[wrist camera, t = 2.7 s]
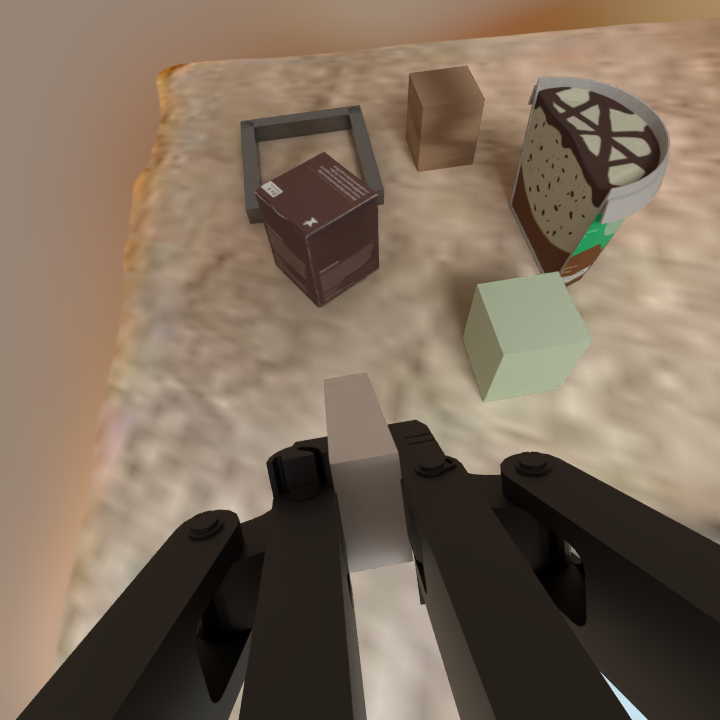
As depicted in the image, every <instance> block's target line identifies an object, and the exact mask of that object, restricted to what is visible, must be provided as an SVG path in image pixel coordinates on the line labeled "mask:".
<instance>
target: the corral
mask: <svg viewBox="0 0 720 720" xmlns="http://www.w3.org/2000/svg"><path fill="white" fill-rule="evenodd" d="M346 129H350V131H351V135H352V139H353V142H354V146H355V150H356V154H357V158H358V162H359V166H360V170H361V173H362V177H363V181H364V183H365V184H366V185H367V186H368V187H370V188H371V189H372V190H374V191H375V192H376V193H377V194H378V200H377V205H381V204H384V189H383V185H382V182H381V178H380V175H379V171H378V168H377V164H376V161H375V157H374V154H373V150H372V147H371V143H370V140H369V136H368V133H367V129H366V126H365V122H364V119H363V115H362V112H361V108H360V105H357V106H350V107H342V108H335V109H328V110H320V111H313V112H306V113H298V114H291V115H283V116H276V117H269V118H261V119H254V120H247V121H241V136H242V153H243V169H244V185H245V201H246V211H247V214H248V218H249V221H250V224H252V223H259V222H263V218H262V215H261V212H260V209H259V205H258V201H257V198H256V196H255V193H254V191H255V190H256V189H258V188H259V187H261V175H260V164H259V153H258V142H259V141H266V140H274V139H281V138H288V137H295V136H303V135H310V134H317V133H324V132H331V131H339V130H346Z"/></svg>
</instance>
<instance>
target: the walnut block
mask: <svg viewBox="0 0 720 720" xmlns="http://www.w3.org/2000/svg"><path fill="white" fill-rule="evenodd" d="M484 101H485V99H484V97H483V95H482V93H481V91H480V89H479V87H478V85H477V83H476V81H475V80H474V78H473V76H472V74H471V72H470V70H469V68H468V66H461V67H453V68H446V69H439V70H431V71H424V72H416V73H409V89H408V110H407V131H406V139H407V142H408V145H409V148H410V150H411V153H412V156H413V159H414V162H415V165H416V168H417V170H418V172H421V171H428V170H435V169H442V168H449V167H456V166H463V165H470V164H473V158H474V153H475V148H476V143H477V137H478V132H479V127H480V122H481V116H482V111H483V106H484Z"/></svg>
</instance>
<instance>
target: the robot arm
mask: <svg viewBox="0 0 720 720" xmlns="http://www.w3.org/2000/svg"><path fill="white" fill-rule="evenodd" d="M324 391H325V406H326V420H327V435H328V436H327V437H322V438H316V439H310V440H304V441H299V442H295V443H294V445H293V446H292V447H288V448H285V449H283V450H281V451H278V452H277V453H275V454H274V455H272V456H271V457H270V458H269V459H268V461H267V463H266V464H267V469H268V474H269V478H270V483H271V488H272V492H273V497H274V498H273V505H272V509H271V510H270V511H268V512H266V513H265V514H263V515H261V516H259V517H257V518H254V519H252V520H249V521H246V522H244V523H241V524H240V521H239V518H238V516H237V514H236V513H234V512H232V511H230V510H215V511H206V512H203V513H200V514H197V515H195V516H194V517H193V518H191V519H189V520H187V521H186V522H184V523H183V524H182V525H181V526H179V527H178V528H177V529H176V530H175V531H174V532H173V534H172V535H171V536H170V537H169V538H168V540H167V541H166V542H165V543H164V544H163V545H162V547H161V548H160V549H159V550H158V551H157V553H156V554H155V555H154V556H153V557H152V559H151V560H150V561H149V562H148V563H147V564H146V566H145V567H144V568H143V569H142V570H141V572H140V573H139V574H138V575H137V576H136V578H135V579H134V580H133V581H132V582H131V583H130V585H129V586H128V587H127V588H126V589H125V591H124V592H123V593H122V594H121V595H120V597H119V598H118V599H117V600H116V601H115V602H114V604H113V605H112V606H111V607H110V608H109V610H108V611H107V612H106V613H105V614H104V616H103V617H102V618H101V619H100V620H99V621H98V623H97V624H96V625H95V626H94V627H93V629H92V630H91V631H90V632H89V633H88V635H87V636H86V637H85V638H84V639H83V640H82V642H81V643H80V644H79V645H78V646H77V648H76V649H75V650H74V651H73V652H72V654H71V655H70V656H69V657H68V658H67V659H66V661H65V662H64V663H63V664H62V665H61V667H60V668H59V669H58V670H57V671H56V673H55V674H54V675H53V676H52V677H51V678H50V680H49V681H48V682H47V683H46V684H45V686H44V687H43V688H42V689H41V690H40V692H39V693H38V694H37V695H36V696H35V697H34V699H33V700H32V701H31V702H30V704H29V705H28V706H27V707H26V708H25V709H24V711H23V712H22V713H21V714H20V715H19V716H18V718H17V719H16V720H228V719H229V716H230V714H231V711H232V709H233V707H234V704H235V702H236V699H237V697H238V694H239V692H240V690H241V687H242V685H243V682H244V680H245V682H244V689H243V695H242V702H241V708H240V714H239V720H367V718H366V709H365V700H364V691H363V682H362V673H361V664H360V655H359V646H358V638H357V629H356V620H355V611H354V602H353V593H352V586H351V580H350V574H349V573H352V572H357V571H362V570H368V569H373V568H378V567H383V566H389V565H394V564H399V563H404V562H410V561H413V556H412V550H413V553H414V559H415V566H416V574H417V581H418V588H419V596H420V603H421V605H422V604H426V607H427V611H428V614H429V617H430V621H431V624H432V627H433V630H434V634H435V637H436V640H437V644H438V647H439V650H440V653H441V657H442V660H443V663H444V667H445V670H446V673H447V676H448V680H449V683H450V686H451V690H452V693H453V696H454V699H455V703H456V706H457V709H458V713H459V716H460V719H461V720H632V719H631V718H630V716H629V715H628V713H627V712H626V710H625V709H624V707H623V706H622V704H621V703H620V701H619V700H618V698H617V697H616V695H615V694H614V692H613V691H612V689H611V688H610V686H609V685H608V683H607V682H606V680H605V679H604V677H603V676H602V674H603V675H604V676H605V677H606V678H607V679H608V680H609V681H610V682H611V683H612V684H613V685H614V686H615V687H616V688H617V689H618V690H619V691H620V692H621V693H622V694H623V695H624V696H625V697H626V698H627V699H628V700H629V701H630V702H631V703H632V704H633V705H634V706H635V707H636V708H637V709H638V710H639V711H640V712H641V713H642V714H643V715H644V716H645V717H646V718H647V719H648V720H720V545H719V544H717V543H715V542H713V541H712V540H710V539H708V538H706V537H704V536H702V535H700V534H699V533H697V532H695V531H693V530H691V529H689V528H687V527H686V526H684V525H682V524H680V523H678V522H676V521H674V520H673V519H671V518H669V517H667V516H665V515H663V514H661V513H660V512H658V511H656V510H654V509H652V508H650V507H648V506H647V505H645V504H643V503H641V502H639V501H637V500H635V499H634V498H632V497H630V496H628V495H626V494H624V493H622V492H621V491H619V490H617V489H615V488H613V487H611V486H609V485H608V484H606V483H604V482H602V481H600V480H598V479H596V478H595V477H593V476H591V475H589V474H587V473H585V472H583V471H582V470H580V469H578V468H576V467H574V466H572V465H570V464H569V463H567V462H565V461H563V460H561V459H559V458H557V457H554V456H551V455H549V454H543V453H539V452H531V453H529V452H523V453H520V454H516V455H512V456H510V457H508V458H506V459H504V461H503V462H502V463H501V464H500V467H501V475H476V474H470V473H467V471H466V470H465V468H464V466H463V465H462V463H460V462H459V461H458V460H457V459H455V458H452V457H449V456H445V454H444V452H443V451H442V449H441V448H440V446H439V444H438V443H437V441H435V438H434V436H433V435H432V434H431V432H430V430H429V428H428V427H427V425H425V424H423V423H421V422H419V421H417V420H412V421H406V422H400V423H394V424H389V425H387V423H386V421H385V418H384V416H383V413H382V411H381V408H380V406H379V403H378V401H377V398H376V396H375V393H374V391H373V388H372V386H371V383H370V381H369V378H368V376H367V373H362V374H356V375H350V376H344V377H338V378H332V379H326V380H324ZM571 546H572V547H573V548H574V549H575V550H576V552H577V553H578V555H579V556H580V558H581V559H580V558H578V557H577V556H576V555H575V554H573V553H572V552H571ZM411 547H412V548H411ZM600 672H601V673H602V674H601V673H600Z"/></svg>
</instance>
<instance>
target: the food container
mask: <svg viewBox="0 0 720 720" xmlns="http://www.w3.org/2000/svg"><path fill="white" fill-rule="evenodd" d="M528 104H529V105H530V104H532V107H531V112H530V116H529V121H528V125H527V129H526V134H525V138H524V142H523V147H522V151H521V155H520V160H519V164H518V168H517V173H516V177H515V181H514V186H513V190H512V195H511V199H510V203H509V207H510V209H511V211H512V213H513V215H514V217H515V219H516V222H517V224H518V226H519V228H520V230H521V232H522V234H523V236H524V239H525V241H526V243H527V245H528V247H529V249H530V251H531V253H532V255H533V258H534V260H535V262H536V264H537V266H538V268H539V270H540V272H541V274H545V273H552V272H559V274H560V276H561V278H562V280H563V282H564V284H565V286H566V287H567V286H569V285H571V284H573V283H574V282H576V281H578V280H580V279H581V278H582V276H583V275H584V274H585V273H586V272H587V271H588V269H589V268H590V267H591V266H592V264H593V263H594V261H595V260H596V259H597V257H598V256H599V254H600V253H601V252H602V250H603V249H604V247H605V246H606V245H607V243H608V242H609V241H610V239H611V238H612V236H613V235H614V234H615V232H616V231H617V229H618V228H619V227H620V225H621V224H622V222H623V221H624V220H625V218H626V217H628V216H630V215H632V214H634V213H636V212H638V211H639V210H641V209H642V208H644V207H645V206H646V205H647V204H648V203H650V202H651V201H652V199H653V198H654V197H655V195H656V194H657V193H658V190H659V188H660V186H661V183H662V180H663V177H664V174H665V171H666V168H667V165H668V161H669V154H670V153H669V147H670V138H669V133H668V130H667V128H666V126H665V124H664V122H663V121H662V119H661V118H660V116H659V115H658V114H657V113H656V112H655V111H654V110H653V109H652V108H651V107H650V106H648V105H647V104H646V103H645V102H643V101H642V100H640V99H639V98H637V97H635V96H634V95H632V94H630V93H628V92H626V91H624V90H622V89H619V88H617V87H614V86H611V85H608V84H605V83H601V82H597V81H593V80H588V79H582V78H574V77H543V78H539V79H538V82H537V85H535V86H534V89H533V92H532V94H531V97H530V99H529V102H528Z"/></svg>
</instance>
